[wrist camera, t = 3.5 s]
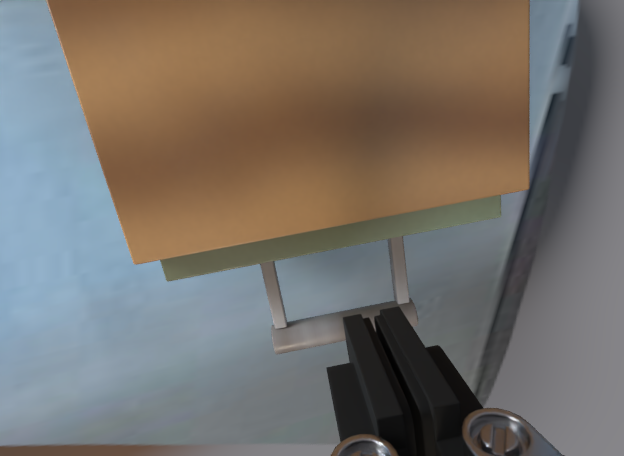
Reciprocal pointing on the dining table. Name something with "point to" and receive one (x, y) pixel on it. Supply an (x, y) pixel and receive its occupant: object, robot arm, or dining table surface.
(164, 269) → the drawer
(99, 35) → the cabinet
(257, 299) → the dining table surface
